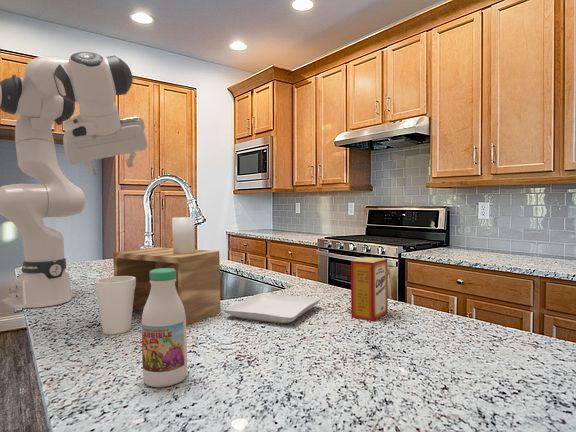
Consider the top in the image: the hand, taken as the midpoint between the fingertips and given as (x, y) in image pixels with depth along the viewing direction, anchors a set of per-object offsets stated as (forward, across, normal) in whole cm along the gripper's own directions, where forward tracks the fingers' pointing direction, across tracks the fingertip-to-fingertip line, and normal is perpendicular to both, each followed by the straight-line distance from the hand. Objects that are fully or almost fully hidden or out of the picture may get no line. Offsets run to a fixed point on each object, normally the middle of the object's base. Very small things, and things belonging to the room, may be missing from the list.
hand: (112, 170), depth 107 cm
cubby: (+37, -3, +23) cm, 44 cm away
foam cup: (+30, +12, +29) cm, 43 cm away
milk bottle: (+14, +8, +60) cm, 62 cm away
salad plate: (+35, -28, +42) cm, 61 cm away
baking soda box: (+31, -48, +58) cm, 82 cm away
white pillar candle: (+20, -10, +20) cm, 30 cm away
